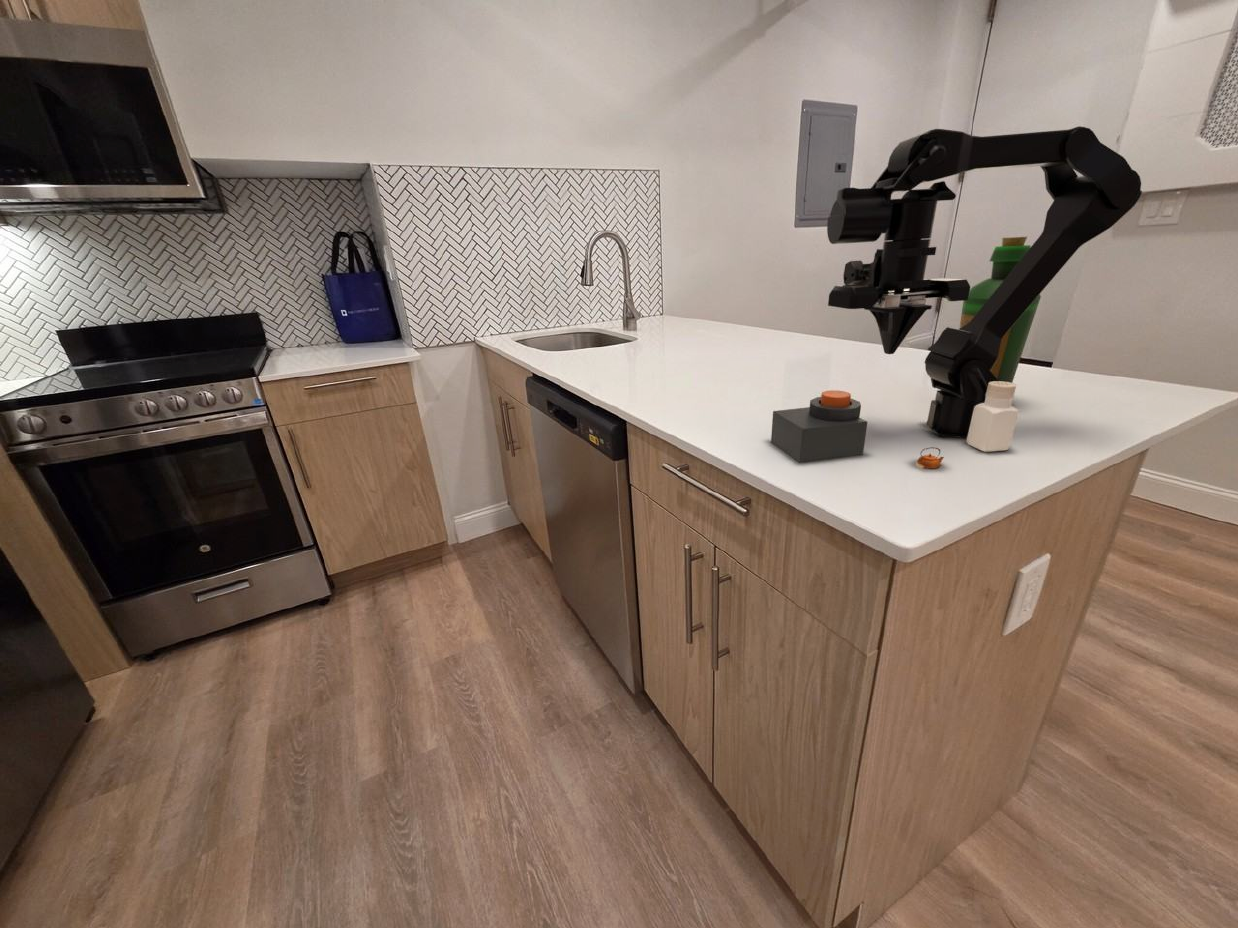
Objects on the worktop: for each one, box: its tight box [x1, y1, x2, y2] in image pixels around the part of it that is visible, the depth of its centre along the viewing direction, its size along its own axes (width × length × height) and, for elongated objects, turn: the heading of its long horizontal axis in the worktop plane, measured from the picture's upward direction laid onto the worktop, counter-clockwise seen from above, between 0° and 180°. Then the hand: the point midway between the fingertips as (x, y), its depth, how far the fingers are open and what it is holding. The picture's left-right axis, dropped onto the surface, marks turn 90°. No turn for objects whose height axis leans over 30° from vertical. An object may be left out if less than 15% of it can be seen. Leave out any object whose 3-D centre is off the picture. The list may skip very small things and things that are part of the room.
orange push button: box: [820, 389, 852, 407], centre depth 74 cm, size 4×4×2 cm
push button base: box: [770, 396, 868, 464], centre depth 75 cm, size 11×9×7 cm
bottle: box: [958, 236, 1042, 383], centre depth 88 cm, size 11×11×28 cm
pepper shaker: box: [966, 381, 1019, 453], centre depth 72 cm, size 4×4×10 cm
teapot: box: [915, 446, 945, 470], centre depth 68 cm, size 3×3×3 cm
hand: (888, 353), depth 75 cm, fingers closed
